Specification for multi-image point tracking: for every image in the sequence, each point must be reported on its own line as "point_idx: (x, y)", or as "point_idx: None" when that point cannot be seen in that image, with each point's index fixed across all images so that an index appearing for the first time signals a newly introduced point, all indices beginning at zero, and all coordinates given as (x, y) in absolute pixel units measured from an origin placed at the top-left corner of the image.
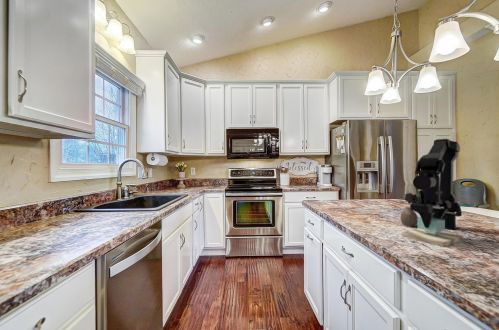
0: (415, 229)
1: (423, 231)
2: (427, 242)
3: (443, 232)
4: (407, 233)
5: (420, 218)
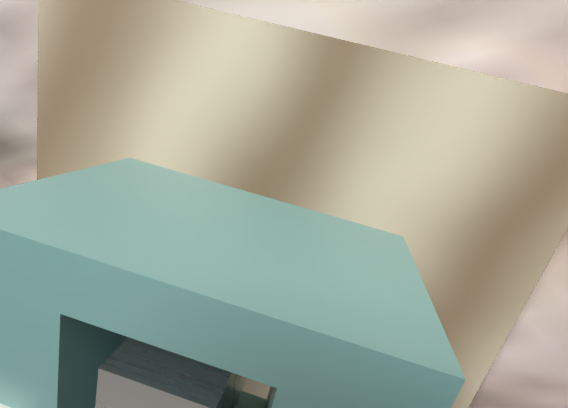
0: (362, 71)
1: (320, 187)
2: None
3: None
4: (43, 52)
5: (7, 271)
